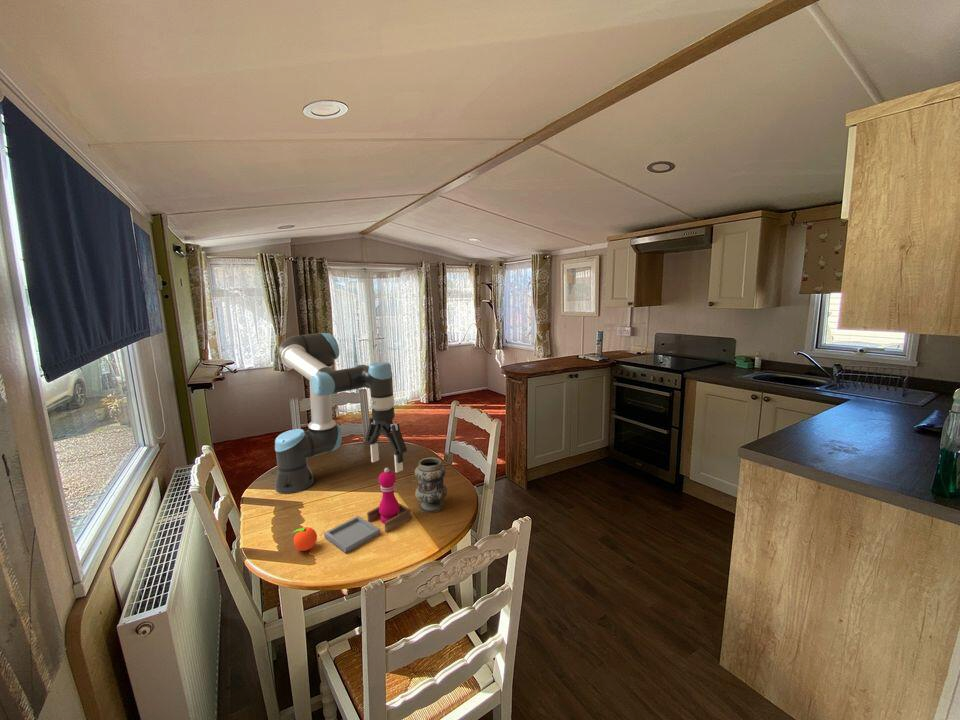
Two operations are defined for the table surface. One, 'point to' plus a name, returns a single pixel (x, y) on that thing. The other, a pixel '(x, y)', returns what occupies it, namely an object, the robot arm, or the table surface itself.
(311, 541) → the clementine
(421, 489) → the apothecary jar
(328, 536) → the tray
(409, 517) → the cubby
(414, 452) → the table surface
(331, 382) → the robot arm
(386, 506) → the pepper mill
